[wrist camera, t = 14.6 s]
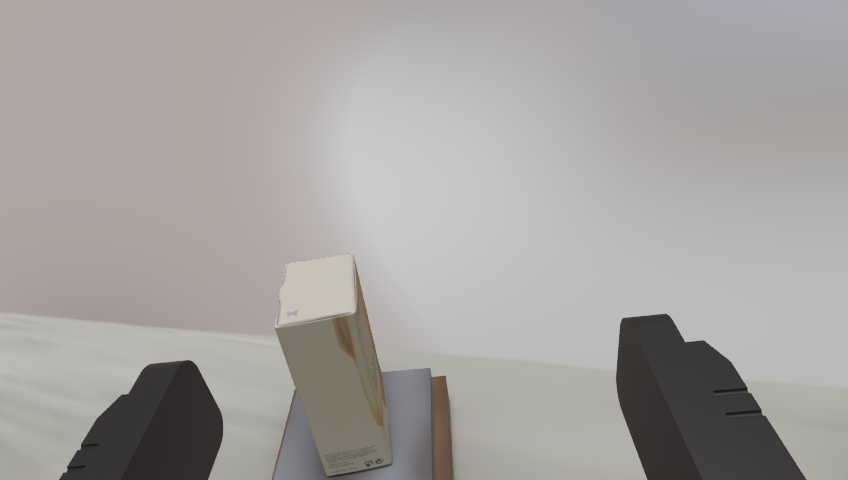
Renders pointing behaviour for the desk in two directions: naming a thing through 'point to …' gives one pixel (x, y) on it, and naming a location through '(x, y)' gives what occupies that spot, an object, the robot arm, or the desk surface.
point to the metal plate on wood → (410, 434)
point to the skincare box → (334, 363)
